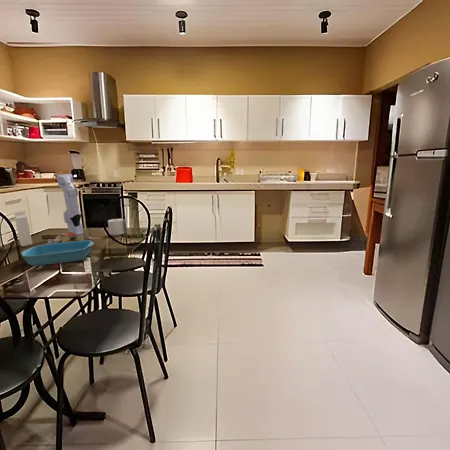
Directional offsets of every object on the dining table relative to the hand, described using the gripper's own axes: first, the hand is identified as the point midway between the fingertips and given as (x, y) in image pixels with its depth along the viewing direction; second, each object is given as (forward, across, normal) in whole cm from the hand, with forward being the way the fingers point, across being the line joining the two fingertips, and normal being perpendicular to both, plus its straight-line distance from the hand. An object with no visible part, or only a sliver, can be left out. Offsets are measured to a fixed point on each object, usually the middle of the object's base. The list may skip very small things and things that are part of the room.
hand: (77, 225), depth 212 cm
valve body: (+10, +1, -10) cm, 14 cm away
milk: (+10, +4, -33) cm, 35 cm away
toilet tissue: (+10, -12, +23) cm, 28 cm away
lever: (+6, +3, -6) cm, 9 cm away
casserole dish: (+10, +40, +5) cm, 42 cm away
